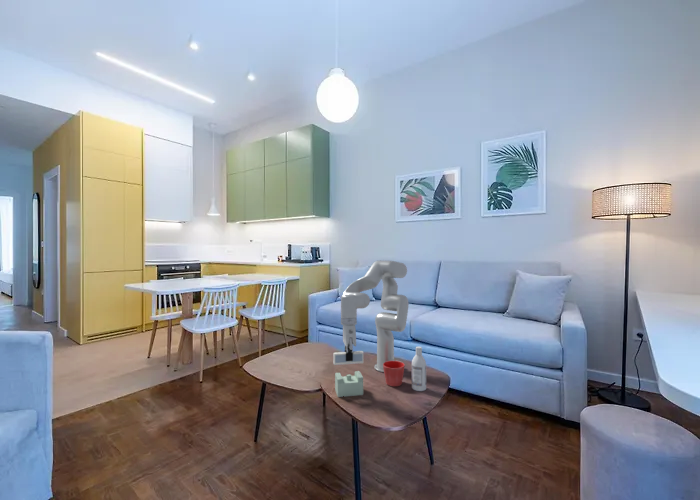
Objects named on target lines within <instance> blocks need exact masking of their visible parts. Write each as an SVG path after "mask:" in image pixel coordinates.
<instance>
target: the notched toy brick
mask: <svg viewBox="0 0 700 500" xmlns="http://www.w3.org/2000/svg"><path fill="white" fill-rule="evenodd" d="M334 390H335V393H336V397H337V398H340V397H341V398H342V397H343V396H344V397H352V396H353V397H354V396H363V395H364V376H363V375H362V373H361V371H359V370H357V371H354V375H352V374H346V375H345V376H342V374H341V372H335V374H334Z"/></svg>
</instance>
